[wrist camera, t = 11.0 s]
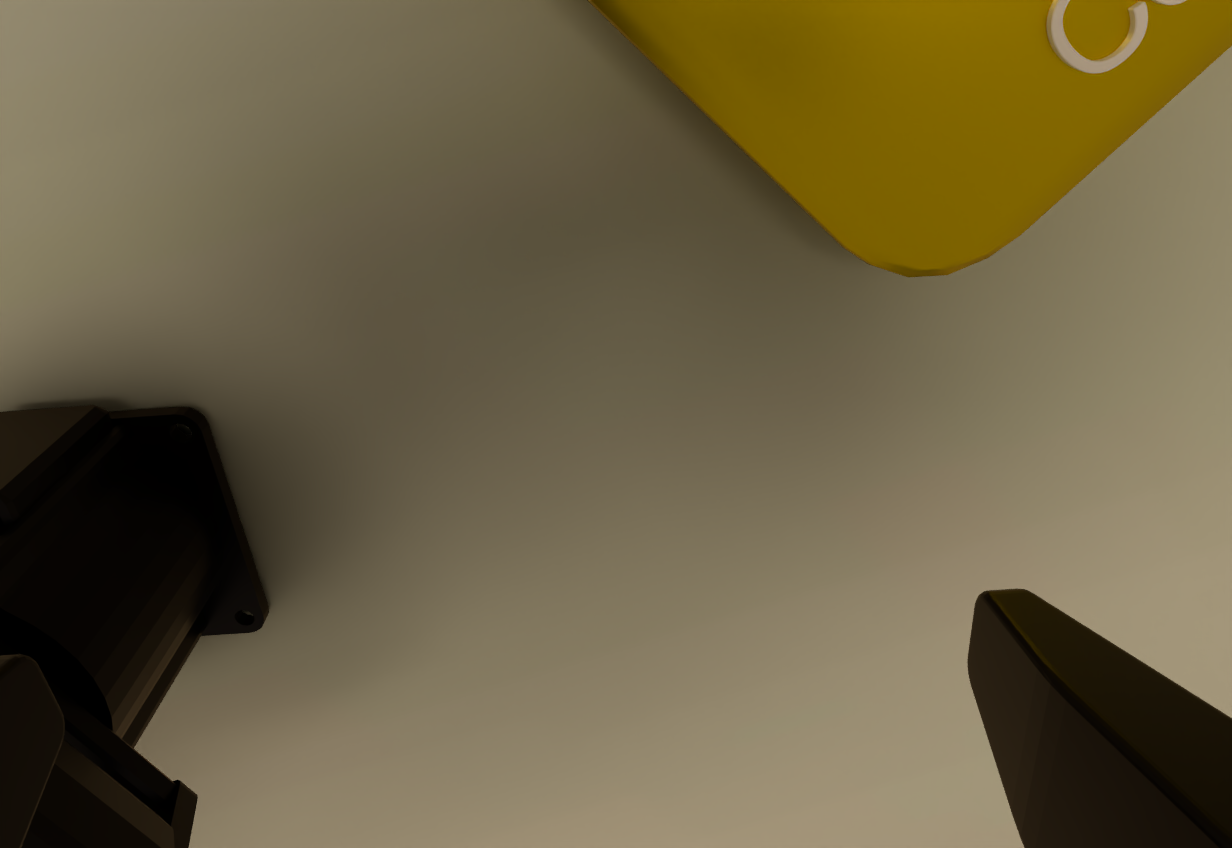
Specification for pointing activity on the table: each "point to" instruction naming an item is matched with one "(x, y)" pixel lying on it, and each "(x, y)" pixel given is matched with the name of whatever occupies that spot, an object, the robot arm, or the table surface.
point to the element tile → (927, 103)
